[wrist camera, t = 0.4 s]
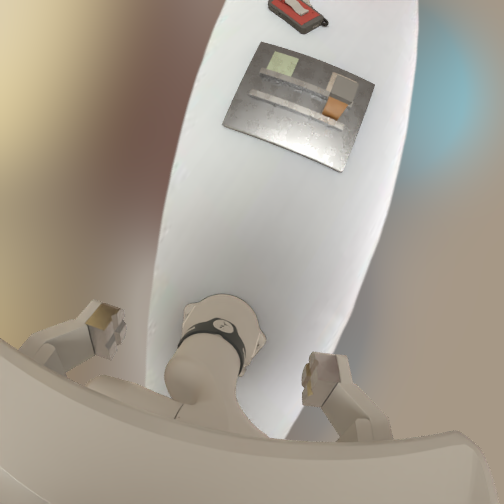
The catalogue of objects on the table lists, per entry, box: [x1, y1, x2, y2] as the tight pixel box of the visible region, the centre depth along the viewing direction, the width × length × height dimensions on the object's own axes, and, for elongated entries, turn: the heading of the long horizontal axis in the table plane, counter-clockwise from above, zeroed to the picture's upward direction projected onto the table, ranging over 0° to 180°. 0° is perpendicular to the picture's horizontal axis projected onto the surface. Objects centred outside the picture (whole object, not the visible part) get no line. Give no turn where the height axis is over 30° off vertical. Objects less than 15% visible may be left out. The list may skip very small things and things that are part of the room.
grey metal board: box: [222, 42, 375, 173], centre depth 46 cm, size 20×24×4 cm
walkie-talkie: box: [268, 0, 328, 34], centre depth 41 cm, size 9×4×20 cm
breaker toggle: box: [322, 74, 359, 121], centre depth 39 cm, size 3×3×13 cm
